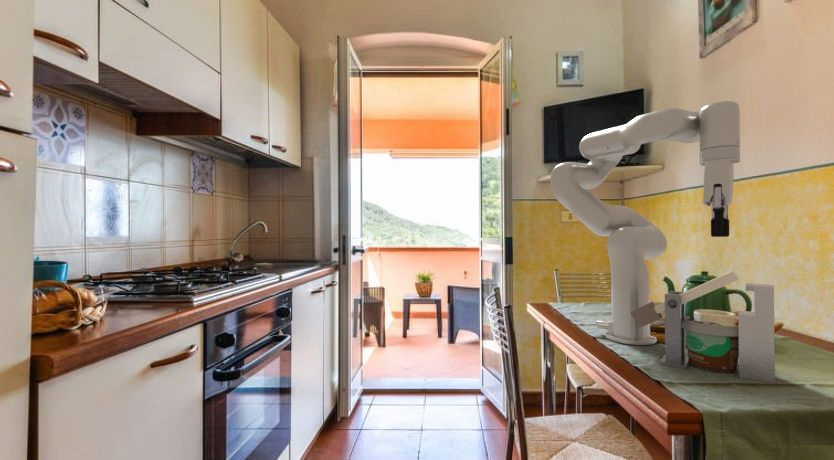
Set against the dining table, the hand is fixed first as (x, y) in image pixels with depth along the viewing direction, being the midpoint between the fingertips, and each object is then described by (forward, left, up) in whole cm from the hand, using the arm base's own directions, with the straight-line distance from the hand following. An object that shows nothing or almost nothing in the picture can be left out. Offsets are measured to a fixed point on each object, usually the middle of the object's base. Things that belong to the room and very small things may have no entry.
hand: (720, 236), depth 94 cm
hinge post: (-8, -7, -29) cm, 31 cm away
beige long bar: (-5, -7, -16) cm, 18 cm away
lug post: (+7, -7, -29) cm, 31 cm away
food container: (-2, -7, -29) cm, 30 cm away
